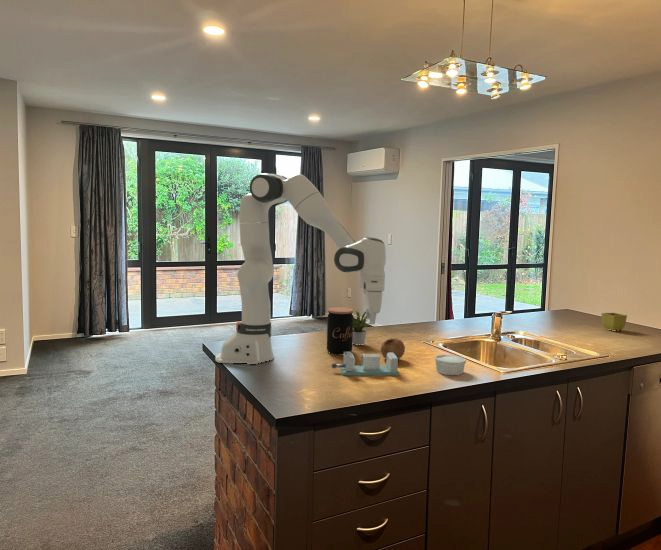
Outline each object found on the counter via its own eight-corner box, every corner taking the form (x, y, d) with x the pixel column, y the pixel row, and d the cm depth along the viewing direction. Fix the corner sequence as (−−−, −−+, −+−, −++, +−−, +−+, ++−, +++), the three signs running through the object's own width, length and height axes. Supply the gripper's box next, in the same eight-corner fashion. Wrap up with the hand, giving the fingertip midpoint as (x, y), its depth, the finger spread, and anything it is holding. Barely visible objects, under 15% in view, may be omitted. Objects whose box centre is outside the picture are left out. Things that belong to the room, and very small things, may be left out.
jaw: (332, 371, 172) (332, 357, 172) (330, 365, 180) (331, 351, 179) (354, 371, 173) (354, 357, 172) (351, 365, 181) (352, 351, 180)
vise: (342, 375, 173) (343, 358, 172) (340, 368, 180) (341, 352, 180) (398, 375, 174) (399, 358, 174) (393, 368, 182) (394, 352, 182)
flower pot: (599, 329, 265) (600, 312, 264) (612, 328, 267) (613, 312, 267) (613, 332, 256) (614, 315, 256) (626, 332, 259) (627, 315, 258)
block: (363, 370, 175) (363, 356, 175) (361, 367, 179) (361, 353, 179) (379, 370, 176) (380, 356, 175) (377, 367, 180) (378, 353, 179)
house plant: (377, 341, 224) (378, 306, 223) (376, 348, 211) (378, 311, 209) (346, 339, 226) (347, 305, 224) (343, 347, 212) (344, 310, 210)
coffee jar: (330, 355, 198) (331, 312, 196) (323, 349, 208) (324, 307, 206) (355, 354, 201) (356, 311, 199) (347, 348, 211) (348, 306, 209)
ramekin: (442, 366, 188) (443, 352, 187) (470, 372, 181) (471, 358, 180) (428, 372, 179) (429, 358, 179) (457, 379, 172) (458, 364, 172)
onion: (388, 369, 191) (383, 349, 187) (380, 357, 200) (374, 337, 195) (410, 360, 192) (405, 340, 188) (401, 348, 201) (396, 328, 196)
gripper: (360, 279, 184) (359, 315, 186) (366, 286, 164) (365, 326, 165) (377, 279, 185) (375, 315, 186) (385, 286, 164) (383, 327, 166)
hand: (370, 321), depth 175 cm, fingers open, 8 cm apart
